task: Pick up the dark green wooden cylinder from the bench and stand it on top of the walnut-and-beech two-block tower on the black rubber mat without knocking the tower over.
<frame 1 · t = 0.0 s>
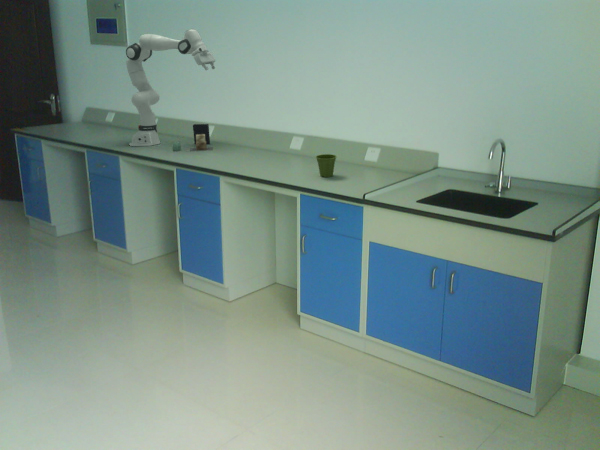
hand: (210, 69, 415), 54 cm above the table, tool tilted 30°, fingers open, 8 cm apart
mat: (201, 149, 424), on the table
top block: (201, 142, 422), point 5 cm above the table, touching bottom block
plant pot: (326, 176, 342), on the table
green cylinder: (177, 151, 422), on the table
black upright flat panel: (202, 144, 443), on the table
bottom block: (201, 145, 423), on the mat, touching top block
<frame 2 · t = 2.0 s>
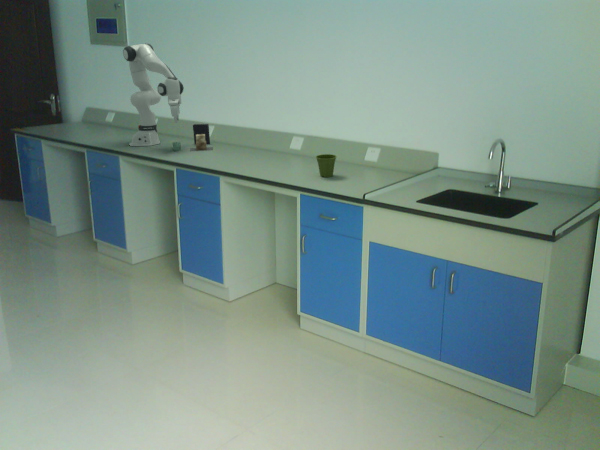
hand: (176, 121, 415), 21 cm above the table, tool pointing down, fingers open, 8 cm apart
nothing on the table moved.
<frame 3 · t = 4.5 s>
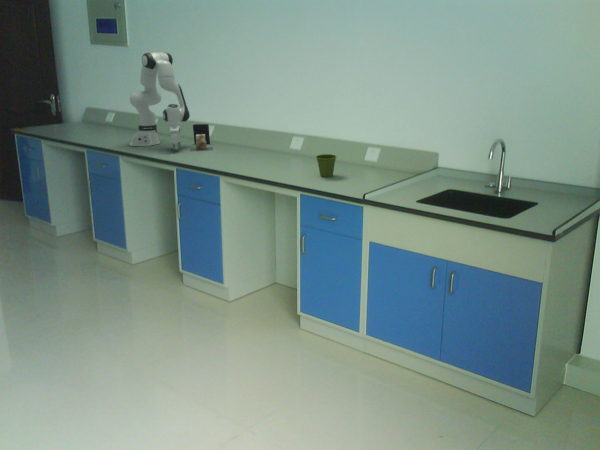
hand: (176, 148, 421), 2 cm above the table, tool pointing down, fingers closed on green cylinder, 5 cm apart
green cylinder: (177, 151, 422), on the table, touching gripper
everything else where it was.
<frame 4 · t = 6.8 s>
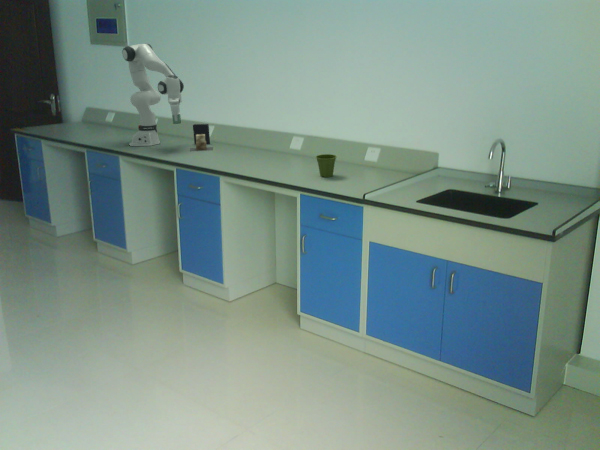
hand: (176, 120, 415), 22 cm above the table, tool pointing down, fingers closed on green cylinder, 5 cm apart
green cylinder: (177, 123, 416), point 19 cm above the table, touching gripper
everything else where it was.
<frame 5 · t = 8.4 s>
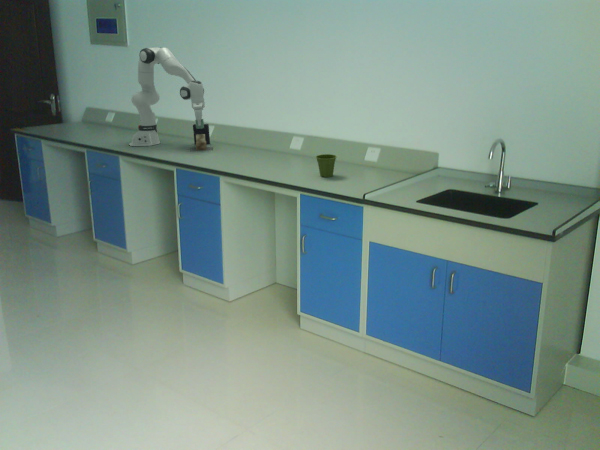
hand: (199, 125, 418), 17 cm above the table, tool pointing down, fingers closed on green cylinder, 5 cm apart
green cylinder: (200, 128, 419), point 15 cm above the table, touching gripper
everything else where it was.
when the fingers open (14 cm above the table, at t = 9.5 s): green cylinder stays where it is, resting on top block.
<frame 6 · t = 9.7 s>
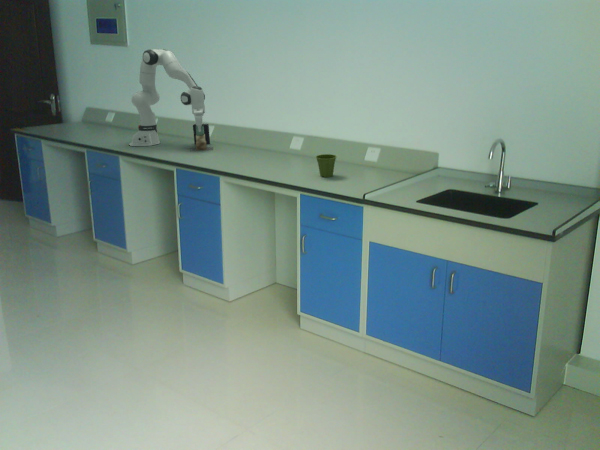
hand: (200, 130, 420), 14 cm above the table, tool pointing down, fingers open, 7 cm apart
top block: (201, 142, 422), point 5 cm above the table, touching bottom block, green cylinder
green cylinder: (200, 135, 421), point 10 cm above the table, touching top block
everything else where it was.
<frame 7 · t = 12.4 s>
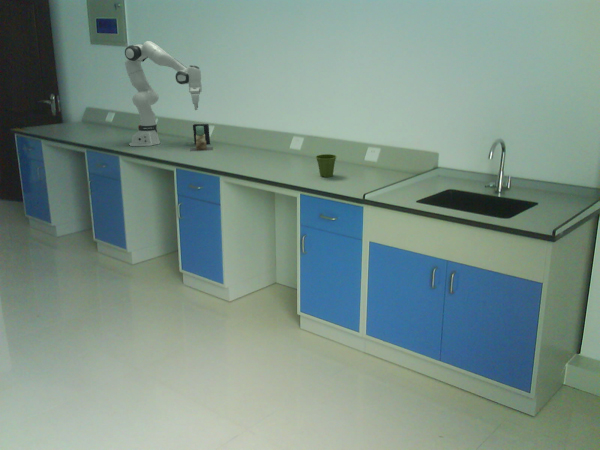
hand: (196, 109, 430), 27 cm above the table, tool pointing down, fingers open, 8 cm apart
nothing on the table moved.
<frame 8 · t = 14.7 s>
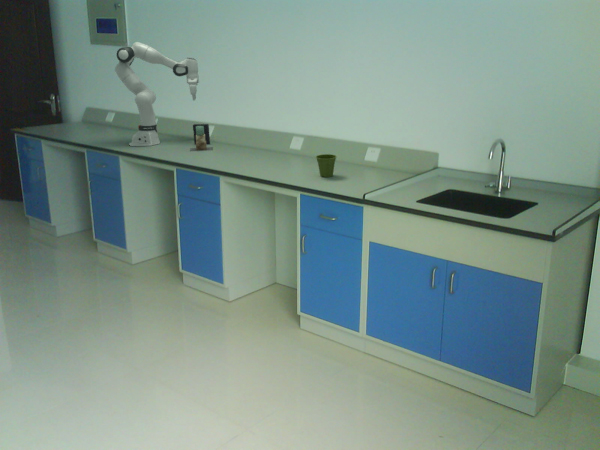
hand: (194, 99, 448), 31 cm above the table, tool pointing down, fingers open, 8 cm apart
nothing on the table moved.
at the end: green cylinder 0.1 cm off-centre on the top block, point 5.0 cm above the top block's base; top block 0.0 cm off-centre on the bottom block, point 5.0 cm above the bottom block's base; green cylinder tilted 0° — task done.
